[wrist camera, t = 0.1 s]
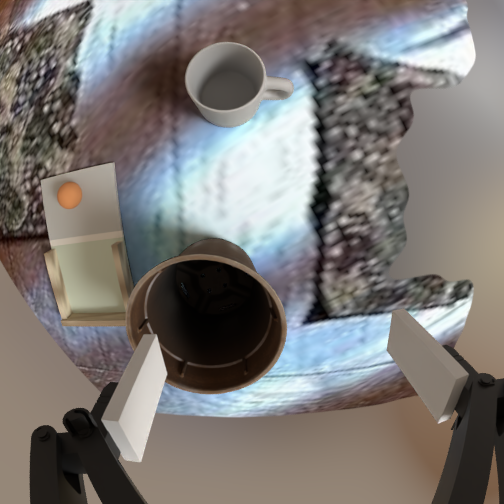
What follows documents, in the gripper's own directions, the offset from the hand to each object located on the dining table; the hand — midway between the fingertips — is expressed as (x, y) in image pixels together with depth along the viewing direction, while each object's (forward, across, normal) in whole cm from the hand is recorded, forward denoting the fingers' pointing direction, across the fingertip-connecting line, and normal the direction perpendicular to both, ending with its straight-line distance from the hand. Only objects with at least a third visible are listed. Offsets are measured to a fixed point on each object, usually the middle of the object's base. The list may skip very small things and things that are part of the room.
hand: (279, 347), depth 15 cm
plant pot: (+28, -6, -6) cm, 29 cm away
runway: (+28, -26, 0) cm, 38 cm away
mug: (+28, 0, +19) cm, 34 cm away
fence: (+28, -26, -5) cm, 39 cm away
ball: (+25, -26, +9) cm, 38 cm away
